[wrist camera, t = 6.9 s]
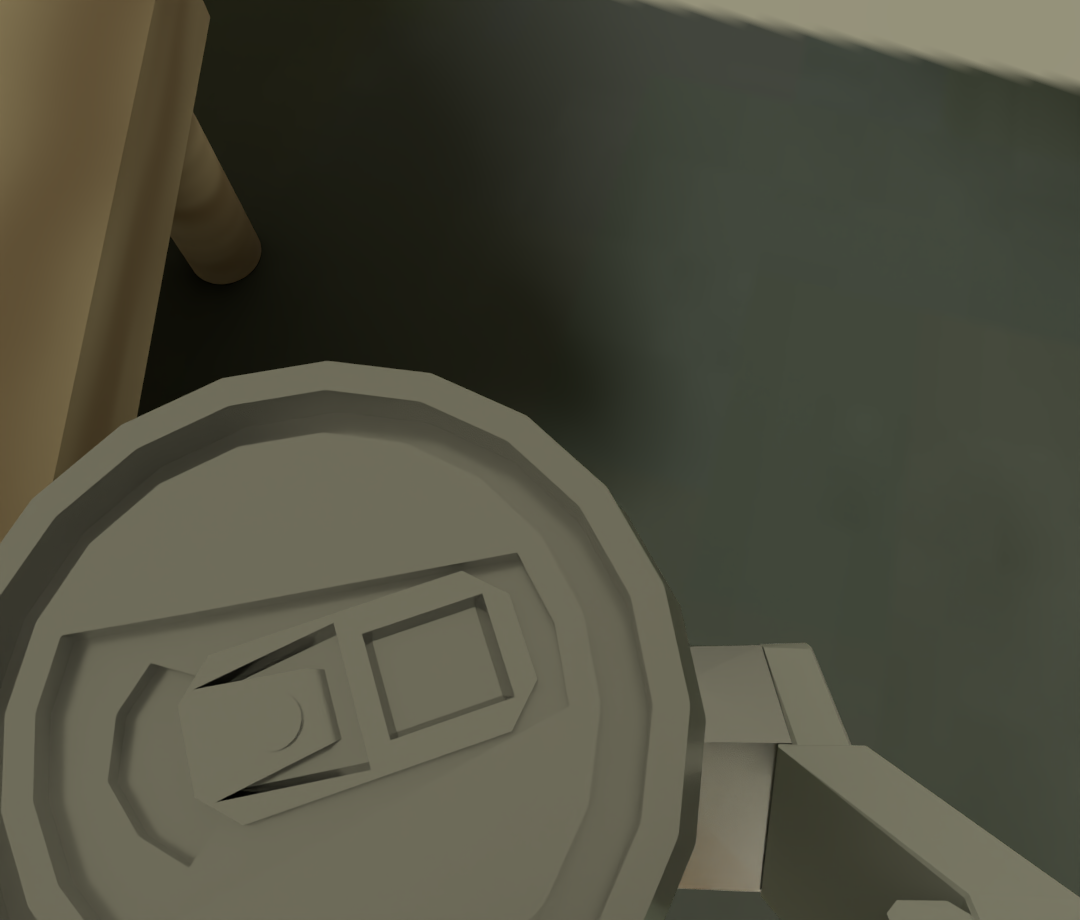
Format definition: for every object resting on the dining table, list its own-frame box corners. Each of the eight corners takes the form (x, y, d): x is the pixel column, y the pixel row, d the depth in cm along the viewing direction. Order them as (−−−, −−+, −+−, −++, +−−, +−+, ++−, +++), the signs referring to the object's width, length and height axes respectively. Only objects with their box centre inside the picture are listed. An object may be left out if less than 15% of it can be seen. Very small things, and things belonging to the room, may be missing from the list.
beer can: (569, 595, 18) (562, 244, 7) (670, 879, 16) (879, 1021, 5) (304, 685, 18) (-155, 465, 7) (376, 989, 16) (-94, 1402, 5)
